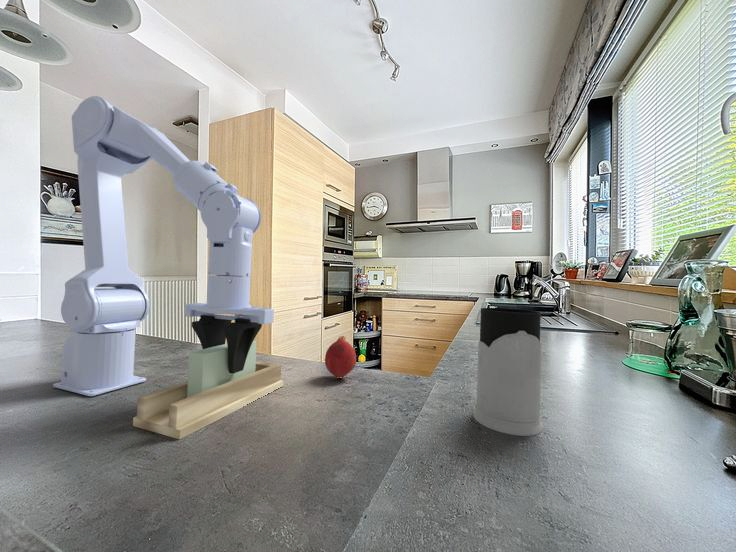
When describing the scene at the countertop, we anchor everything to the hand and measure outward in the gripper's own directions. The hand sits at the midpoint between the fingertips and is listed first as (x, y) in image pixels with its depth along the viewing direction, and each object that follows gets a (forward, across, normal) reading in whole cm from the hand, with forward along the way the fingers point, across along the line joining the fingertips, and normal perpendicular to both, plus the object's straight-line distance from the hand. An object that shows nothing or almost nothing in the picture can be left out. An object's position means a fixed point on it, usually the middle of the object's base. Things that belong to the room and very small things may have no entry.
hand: (225, 369), depth 45 cm
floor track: (+5, 0, 0) cm, 5 cm away
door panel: (+4, 0, 0) cm, 4 cm away
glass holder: (+5, -38, -14) cm, 40 cm away
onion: (+5, -10, -17) cm, 21 cm away
